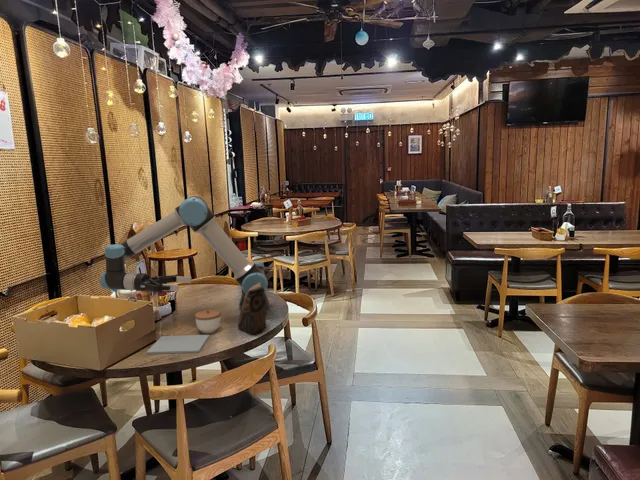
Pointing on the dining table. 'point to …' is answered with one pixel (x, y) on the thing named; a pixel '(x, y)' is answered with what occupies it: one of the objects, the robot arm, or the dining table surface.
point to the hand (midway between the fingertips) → (184, 283)
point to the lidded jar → (208, 320)
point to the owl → (253, 311)
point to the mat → (179, 344)
